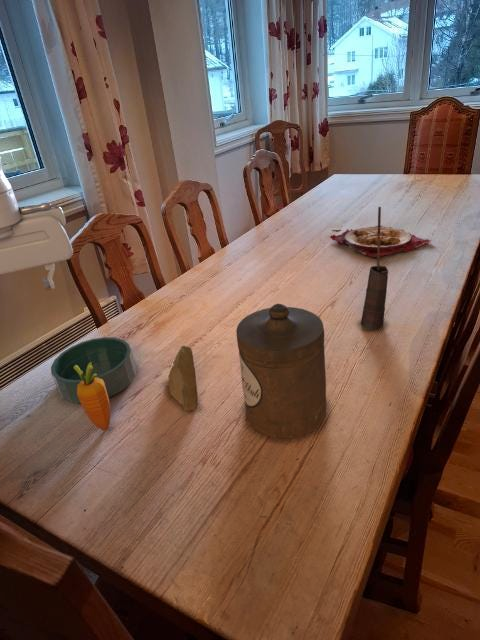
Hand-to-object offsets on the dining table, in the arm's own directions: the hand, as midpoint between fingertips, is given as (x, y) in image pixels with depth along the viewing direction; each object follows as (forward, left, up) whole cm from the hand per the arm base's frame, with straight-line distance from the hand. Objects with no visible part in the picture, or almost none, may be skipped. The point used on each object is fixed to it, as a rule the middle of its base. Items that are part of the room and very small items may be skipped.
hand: (20, 295), depth 71 cm
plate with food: (+107, +41, -27) cm, 118 cm away
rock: (+22, -5, -27) cm, 35 cm away
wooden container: (+38, -19, -27) cm, 50 cm away
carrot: (+6, -7, -27) cm, 29 cm away
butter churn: (+70, -4, -27) cm, 75 cm away
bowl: (+7, +10, -27) cm, 30 cm away
